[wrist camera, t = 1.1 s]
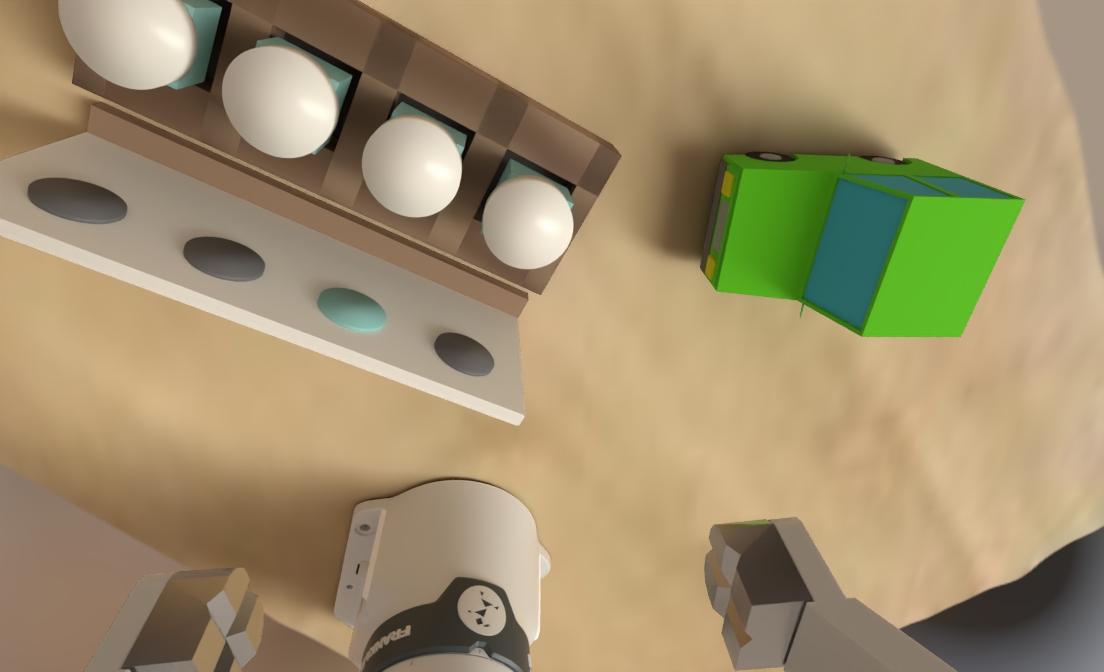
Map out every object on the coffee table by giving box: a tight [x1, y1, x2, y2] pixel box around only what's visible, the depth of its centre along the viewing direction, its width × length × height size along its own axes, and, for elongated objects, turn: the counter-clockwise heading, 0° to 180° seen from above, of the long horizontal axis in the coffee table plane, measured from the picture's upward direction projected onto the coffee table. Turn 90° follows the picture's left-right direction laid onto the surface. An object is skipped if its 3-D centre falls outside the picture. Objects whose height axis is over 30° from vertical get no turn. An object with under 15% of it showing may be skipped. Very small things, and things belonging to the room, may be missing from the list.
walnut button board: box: [72, 0, 621, 295], centre depth 33 cm, size 10×27×3 cm, turn 61°
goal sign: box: [0, 102, 528, 426], centre depth 32 cm, size 4×27×12 cm, turn 61°
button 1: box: [481, 158, 574, 269], centre depth 33 cm, size 5×5×4 cm
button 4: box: [58, 0, 222, 90], centre depth 27 cm, size 5×5×4 cm
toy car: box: [700, 152, 1025, 337], centre depth 35 cm, size 10×13×10 cm
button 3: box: [222, 37, 352, 158], centre depth 29 cm, size 5×5×4 cm
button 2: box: [362, 102, 467, 217], centre depth 31 cm, size 5×5×4 cm
